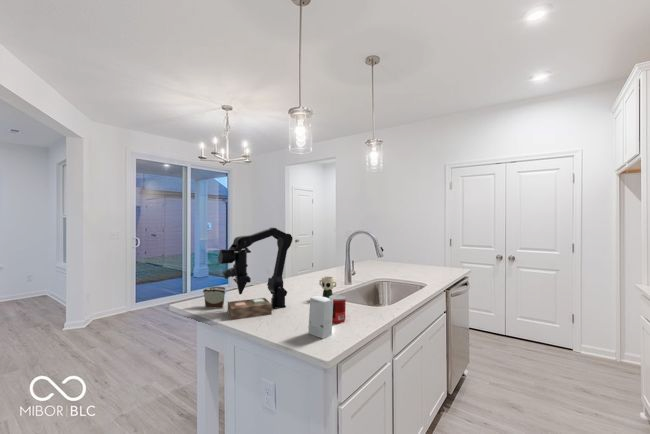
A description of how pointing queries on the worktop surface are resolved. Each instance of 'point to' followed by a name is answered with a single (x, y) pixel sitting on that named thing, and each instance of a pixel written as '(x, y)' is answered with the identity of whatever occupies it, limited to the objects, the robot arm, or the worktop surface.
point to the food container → (214, 297)
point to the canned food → (338, 308)
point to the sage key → (258, 301)
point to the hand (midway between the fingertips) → (240, 294)
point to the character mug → (327, 286)
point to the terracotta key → (240, 304)
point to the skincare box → (320, 316)
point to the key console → (249, 309)
